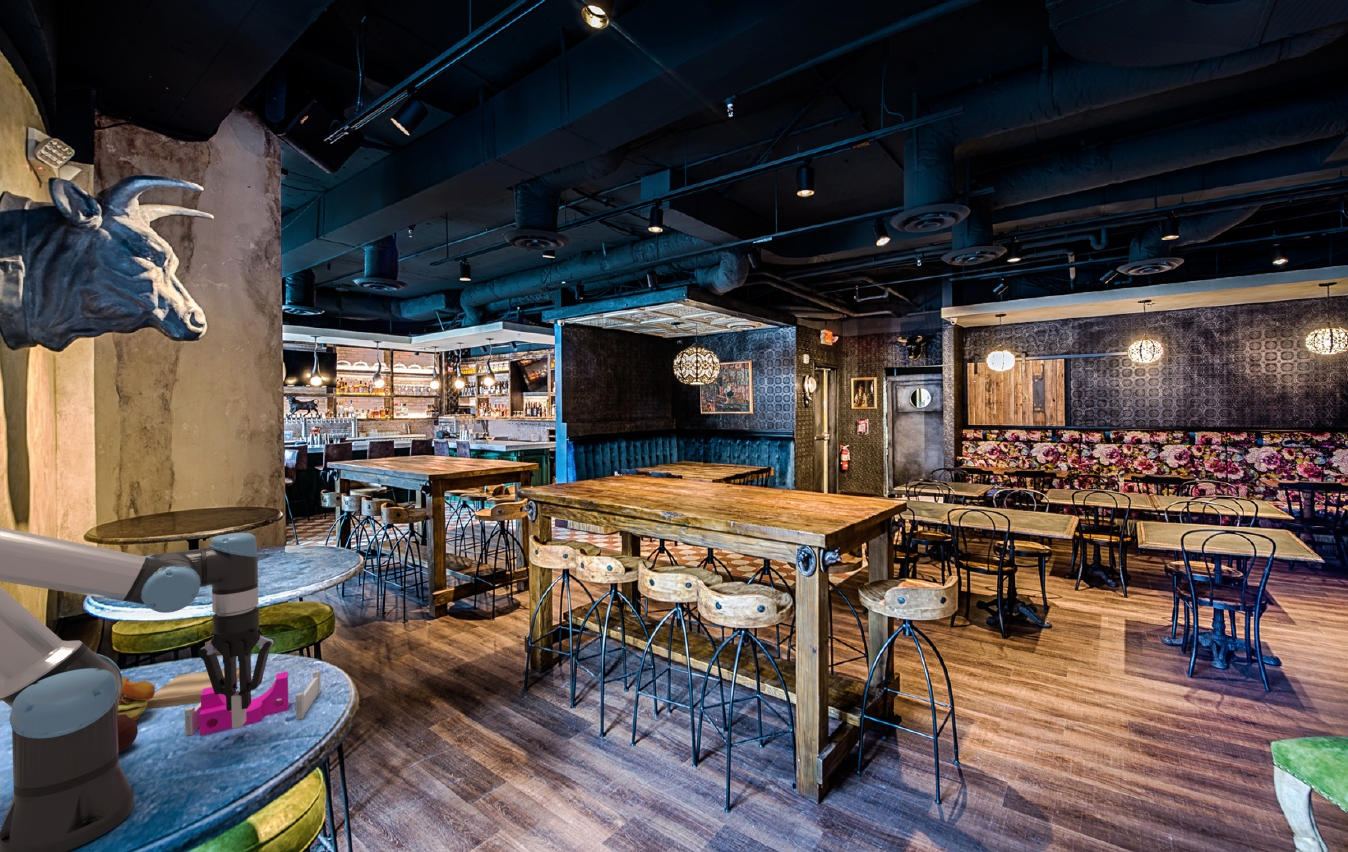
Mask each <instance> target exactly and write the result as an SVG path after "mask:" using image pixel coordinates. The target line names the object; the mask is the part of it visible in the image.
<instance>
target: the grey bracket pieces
mask: <svg viewBox="0 0 1348 852" xmlns="http://www.w3.org/2000/svg"><path fill="white" fill-rule="evenodd" d="M321 688H322V687H321V670H320V669H318V670H314V671H313V672H312V680H311V681H310V682H309V684H308V685H307V687H306V688H305V689H304V691H303V692H298V693H296V695H295V719H296V720H297V721H298V720H303V719H304V717H305V714H306V713H307V711H308V710H309V708H310V707H311V706H312V705H313V703H314V701H315V699H316V698H317V697H318V696H319V695H320V694H321V692H322V691H321V690H322V689H321ZM200 711H201V703H198V705H196V706H193V707H191V706H190V707H187V708H186V709H184V731H185V732H184V734H185V735H184V736H185V737H186V736H188V737H189V736H193V735H194V734H195V733H196V731H197V730H198V729H199V714H200Z"/></svg>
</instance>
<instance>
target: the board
mask: <svg viewBox="0 0 1348 852" xmlns="http://www.w3.org/2000/svg"><path fill="white" fill-rule="evenodd" d="M236 668H237V681H238V682H239V680H238V679H239V667H236ZM221 670H222V673H223V676H224V669H221ZM209 687H212V685H211V681H210V678H209V675H208V672H207V671H200V672H191V673H185V674H178V675H176V676H175V677H174V678H172V680H170V681H169V682H168V683H165V685H163V686H162V687H161V688H160V689H159V690H157V691H155V693H154V696H153V698H152V699H150V700H148V703H147V706H146V708H145V710H151V709H160V708H168V707H176V706H183V705H185V706H186V705H194V704H200V703H201V694H202V691H203V689H204V688H209Z"/></svg>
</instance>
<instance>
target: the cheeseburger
mask: <svg viewBox="0 0 1348 852" xmlns="http://www.w3.org/2000/svg"><path fill="white" fill-rule="evenodd" d="M122 679H123V685H122V689H121V695H120V700H119V707H118V715H125V716H127V717H130V718H132V719H134V721H135V722H136V720H138V719H139V718H140V716H141V715H142V714H143V713H144V711H145V710H146V709H145V708H146V706H147V703H148V700H150V699H152V698H153V696H154V694H155V693H156V689H155V685H154V684H153V683H152V682H149V681H145V680H143V681H142V680H141V681H137V682H135V681H133V680H130V679H129V678H127V677H126V676H125V677H123V676H122Z"/></svg>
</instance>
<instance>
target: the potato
mask: <svg viewBox="0 0 1348 852" xmlns="http://www.w3.org/2000/svg"><path fill="white" fill-rule="evenodd" d="M138 729H139V728H138V723H137V722H136V720H135V721H134V719H132V718H130V717H127V716H125V715H118V754H120V753H122V752H124V751H126V750H127V749H128V748H130V746H132V745H133V743H134V742H135V740H136V739H137V737H138V735H139V734H138V733H139V732H138V731H139V730H138Z"/></svg>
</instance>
